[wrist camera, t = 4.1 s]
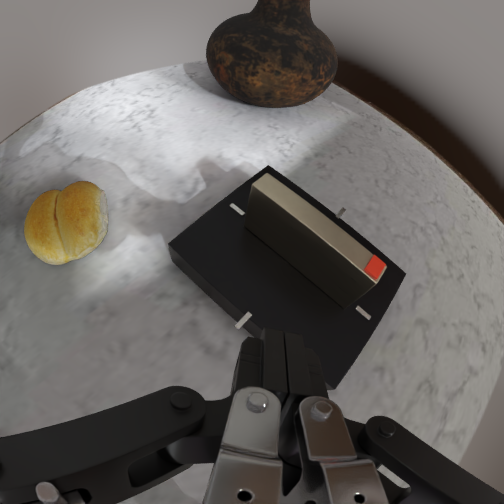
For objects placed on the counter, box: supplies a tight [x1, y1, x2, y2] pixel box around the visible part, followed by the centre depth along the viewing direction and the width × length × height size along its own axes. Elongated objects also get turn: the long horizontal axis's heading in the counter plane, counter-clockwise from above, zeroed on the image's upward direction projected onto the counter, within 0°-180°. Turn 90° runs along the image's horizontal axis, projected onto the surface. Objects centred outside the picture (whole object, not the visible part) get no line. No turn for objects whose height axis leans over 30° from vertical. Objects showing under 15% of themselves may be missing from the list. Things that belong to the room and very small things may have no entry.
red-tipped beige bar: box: [244, 173, 387, 309], centre depth 20 cm, size 10×2×5 cm, turn 49°
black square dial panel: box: [168, 165, 406, 390], centre depth 23 cm, size 16×14×3 cm
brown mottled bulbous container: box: [206, 0, 337, 108], centre depth 26 cm, size 18×18×28 cm
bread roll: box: [24, 181, 108, 265], centre depth 22 cm, size 8×9×4 cm
